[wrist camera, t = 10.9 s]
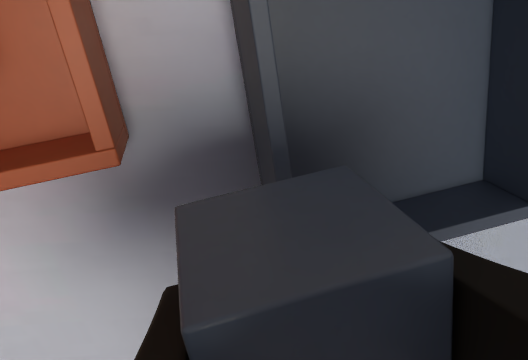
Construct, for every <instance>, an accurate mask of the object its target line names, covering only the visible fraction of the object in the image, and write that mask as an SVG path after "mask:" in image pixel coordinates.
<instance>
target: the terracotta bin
mask: <svg viewBox="0 0 528 360" xmlns="http://www.w3.org/2000/svg"><path fill="white" fill-rule="evenodd" d="M128 138H129V134H128V131H127V127H126V124H125V120H124V117H123V114H122V110H121V107H120V103H119V100H118V96H117V93H116V90H115V86H114V83H113V79H112V76H111V72H110V69H109V66H108V62H107V59H106V55H105V52H104V49H103V45H102V42H101V38H100V35H99V31H98V28H97V25H96V21H95V18H94V14H93V11H92V7H91V4H90V1H89V0H0V191H3V190H8V189H13V188H17V187H22V186H27V185H31V184H36V183H41V182H45V181H50V180H55V179H59V178H64V177H69V176H73V175H78V174H83V173H87V172H92V171H97V170H101V169H106V168H111V167H115V166H119V165H120V164H121V161H122V158H123V154H124V151H125V148H126V144H127V141H128Z"/></svg>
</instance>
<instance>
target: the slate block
mask: <svg viewBox="0 0 528 360" xmlns="http://www.w3.org/2000/svg"><path fill="white" fill-rule="evenodd" d="M175 228H176V248H177V268H178V287H179V307H180V326H181V334H182V337H183V341H184V344H185V347H186V350H187V353H188V356H189V360H452V326H453V268H454V256H453V253H452V252H451V251H450V250H449V249H448V248H447V247H446V246H444V245H443V244H442V243H441V242H439V241H438V240H437V239H436V238H435V237H433V236H432V235H431V234H430V233H428V232H427V231H426V230H425V229H423V228H422V227H421V226H420V225H419V224H417V223H416V222H415V221H414V220H412V219H411V218H410V217H409V216H407V215H406V214H405V213H404V212H403V211H401V210H400V209H399V208H398V207H396V206H395V205H394V204H393V203H392V202H390V201H389V200H388V199H387V198H385V197H384V196H383V195H382V194H380V193H379V192H378V191H377V190H376V189H374V188H373V187H372V186H371V185H369V184H368V183H367V182H366V181H365V180H363V179H362V178H361V177H360V176H358V175H357V174H356V173H355V172H353V171H352V170H351V169H350V168H349V167H347V166H345V165H343V166H339V167H335V168H331V169H327V170H322V171H318V172H314V173H310V174H306V175H302V176H298V177H294V178H290V179H286V180H282V181H278V182H273V183H269V184H265V185H261V186H257V187H253V188H249V189H245V190H241V191H237V192H233V193H228V194H224V195H220V196H216V197H212V198H208V199H204V200H200V201H196V202H192V203H188V204H184V205H179V206H177V207H175Z"/></svg>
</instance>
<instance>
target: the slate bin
mask: <svg viewBox="0 0 528 360" xmlns="http://www.w3.org/2000/svg"><path fill="white" fill-rule="evenodd" d="M230 1H231V7H232V13H233V19H234V25H235V31H236V37H237V43H238V49H239V54H240V60H241V66H242V72H243V78H244V84H245V90H246V96H247V102H248V108H249V113H250V119H251V125H252V131H253V137H254V143H255V149H256V155H257V161H258V167H259V173H260V178H261V184H262V185H265V184H269V183H273V182H278V181H282V180H286V179H290V178H294V177H298V176H302V175H306V174H310V173H314V172H318V171H322V170H327V169H331V168H335V167H339V166H343V165H345V166H347V167H349V168H350V169H351V170H352V171H353V172H355V173H356V174H357V175H358V176H360V177H361V178H362V179H363V180H365V181H366V182H367V183H368V184H369V185H371V186H372V187H373V188H374V189H376V190H377V191H378V192H379V193H380V194H382V195H383V196H384V197H385V198H387V199H388V200H389V201H390V202H392V203H393V204H394V205H395V206H396V207H398V208H399V209H400V210H401V211H403V212H404V213H405V214H406V215H407V216H409V217H410V218H411V219H412V220H414V221H415V222H416V223H417V224H419V225H420V226H421V227H422V228H423V229H425V230H426V231H427V232H428V233H430V234H431V235H432V236H433V237H435V238H436V239H437V240H438V241H440V242H441V241H445V240H448V239H452V238H456V237H459V236H463V235H467V234H471V233H474V232H478V231H482V230H485V229H489V228H493V227H497V226H500V225H504V224H508V223H511V222H515V221H519V220H523V219H526V218H528V0H230Z"/></svg>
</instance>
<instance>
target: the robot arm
mask: <svg viewBox="0 0 528 360" xmlns="http://www.w3.org/2000/svg"><path fill="white" fill-rule="evenodd" d="M439 242H440V241H439ZM441 243H442V242H441ZM442 244H443V245H444V246H446V247H447V248H448V249H449V250H450V251H451V252H452V253H453V256H454V268H453V326H452V360H528V273H525V272H522V271H519V270H516V269H513V268H510V267H507V266H504V265H501V264H498V263H495V262H492V261H490V260H487V259H484V258H481V257H479V256H476V255H473V254H471V253H468V252H465V251H463V250H460V249H458V248H455V247H453V246H450V245H447V244H445V243H442ZM134 360H189V356H188V353H187V350H186V347H185V344H184V341H183V337H182V334H181V326H180V307H179V287H178V284H177V285H174V286H170V287H167V288H166V289H165V291H164V292H163V294H162V297H161V300H160V302H159V305H158V308H157V310H156V313H155V315H154V318H153V320H152V322H151V325H150V327H149V329H148V332H147V334H146V336H145V338H144V340H143V342H142V344H141V347H140V349H139V351H138V353H137V355H136V357H135V359H134Z"/></svg>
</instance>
